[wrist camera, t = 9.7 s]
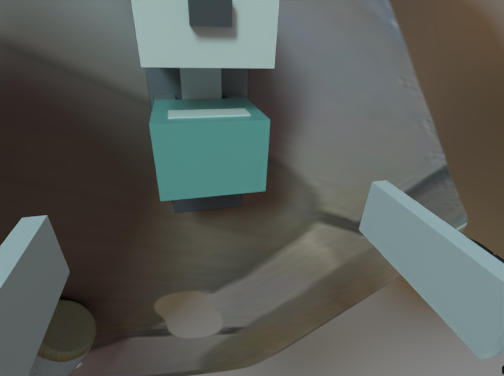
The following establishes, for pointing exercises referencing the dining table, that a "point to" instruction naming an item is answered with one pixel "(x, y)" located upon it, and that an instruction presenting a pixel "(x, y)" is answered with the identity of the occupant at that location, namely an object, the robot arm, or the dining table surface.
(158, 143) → the block
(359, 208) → the dining table surface
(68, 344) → the ceramic mug
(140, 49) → the board
